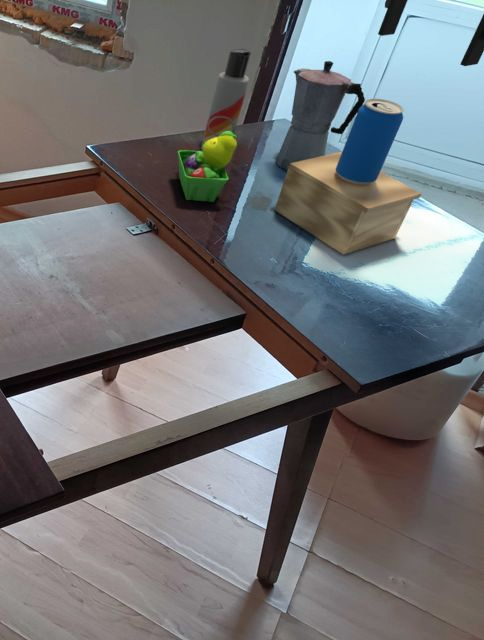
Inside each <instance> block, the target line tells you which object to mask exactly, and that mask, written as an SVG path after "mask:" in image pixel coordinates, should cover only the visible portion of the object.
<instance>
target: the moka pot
mask: <svg viewBox="0 0 484 640" xmlns="http://www.w3.org/2000/svg"><path fill="white" fill-rule="evenodd" d="M333 65H334V62H333V61H330V60H326V61H324V64H323V69H311V68H298V69H296V70H294V71H293V73H294V74H295V88H294V96H293V102H292V107H291V115H292V117H291V121H290V126H289V128H288V129H287V132H286V135H285V137H284V140H283V142H282V145H281V147H280V149H279V152H278V154H277V156H276V158H275V163H276V164H277V166H278V167H280V168H281V169H283V170H286V171H288V168H289V166H290V163H294V162H298V161H303V160H307V159H312V158H316V157H320V156H325V155H326V149H327V144H328V139H329V133H330V132H331V133H333V134H336V135H343V133H344V132H345V130H346V129H347V128H348V127H349V124H350V123H352V121H353V120H354V119H355V117H356V115H357V113H358V110H359V108H360V107H361V106H362V105H364V103H365V101H366V98H365V95H364V94H365V93H364V92H363V88H362V87H361V86H362V83H354V82H352V79H351V78H349V77H347V76H345V75H343V74H342V73H340V72H337V71H333V70H332V68H333ZM346 94H347V95H356V96H357V101H356V102H355V104H354V105H353V106H352V109H351V110H350V111H349V113H348V114H347V115H346V117H345V119H344V121H343V122H342V123H341V124H340V126H339V127H335V126H332V122H333V121H334V119H335V118H336V116H337V114H338V111H339V109H340V106H341V104H342V102H343V100H344V99H345V96H346ZM331 126H332V127H331ZM329 131H330V132H329Z"/></svg>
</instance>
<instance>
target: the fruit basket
mask: <svg viewBox="0 0 484 640" xmlns="http://www.w3.org/2000/svg"><path fill="white" fill-rule="evenodd" d="M236 138H237V135H236V134H235V133H234V134H233V133H232V132H231V131H225V132H223V133H221V134H220V135H219V137H215V138H212V139H210V140H208V141H206V142H205V143H204V145H203V147H202V146H201V147H202V148H203V151H202V150H191V149H189V150H188V149H180V150H178V151H177V158H178V178H179V181H180V185H181V188H182V191H183V194H184V198H185V200H186V201H195V202H211V203H214V202H215V200H216V199H217V197H218V196H219V194H220V192H221V191H222V190H223V189H222V188H223V187H224V185H225V184H227V182H228V180H229V176H228V174H227V170H226V169H225V167H226V166H227V165H228V164H229V163H230V161H232V158H233V155H234V152H235V150H236V148H237V145H238V144H237V143H238V142H237V140H236Z"/></svg>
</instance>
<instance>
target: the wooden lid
mask: <svg viewBox="0 0 484 640" xmlns="http://www.w3.org/2000/svg"><path fill="white" fill-rule="evenodd" d="M341 154H342V151H338V152H334V153H329V154H325V156H320V157H316V158H312V159H307V160H303V161H298V162H294V163H290V166H289V168H291V169H292V170H294V171H296V172H297V173H299V174H301V175H303V176H304V177H306V178H308V179H309V180H311V181H313V182H314V183H316V184H318V185H320V186H321V187H323V188H325V189H326V190H328V191H330V192H331V193H333V194H335V195H337V196H338V197H340V198H342V199H343V200H345V201H347V202H348V203H350V204H352V205H354V206H355V207H357V208H359V209H360V210H362V211H364V212H366V213H368V212H372V211H375V210H379V209H382V208H386V207H389V206H393V205H396V204H400V203H403V202H407V201H411V200H413V201H414V200H418V199H420V198H421V196H422V192H419V191H418V190H416V189H414V188H413V187H410V186H408V185H406V184H405V183H403V182H401V181H398V180H397V179H395V178H393V177H391V176H389V175H388V174H386V173H384V172H382V171H380V173H379V175H378V178H377V180H376V181H374V182H372V183H369V184H367V185H355V184H351V183H348V182H346V181H344V180H342V179H341V178H340V177H339V174H338V173H337V172H336V167H337V164H338V161H339V159H340V156H341Z"/></svg>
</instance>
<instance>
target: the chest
mask: <svg viewBox="0 0 484 640" xmlns="http://www.w3.org/2000/svg"><path fill="white" fill-rule="evenodd" d="M286 171H287V172H286V175H285V178H284V181H283V184H282V187H281V189H280V192H279V195H278V198H277V201H276V204H275V207H274V211H275V212H276V213H278V214H280V215H282V216H283V217H285V218H286V219H287V220H289V221H291V222H292V223H293V224H295V225H297V226H299V227H300V228H301V229H303V230H305V231H306V232H308V233H310V234H311V235H312V236H313V237H316V239H318V240H320V241H321V242H323V243H324V244H326V245H327V246H329V247H330V248H332V249H334V250H335V251H337V252H339V253H340V254H342V255H347V254H350V253H352V252H356V251H359V250H363V249H365V248H369V247H372V246H375V245H379V244H382V243H385V242H388V241H392V240H394V239H396V237H397V236H398V233H399V231H400V229H401V227H402V225H403V224H404V223H403V222H404V221H405V218H406V216H407V214H408V213H409V210H410V209H411V206H412V204H413V202H414V200H411V201H407V202H403V203H400V204H396V205H393V206H389V207H386V208H382V209H379V210H375V211H372V212H368V213H366V212H364V211H362V210H360V209H359V208H357V207H355V206H354V205H352V204H350V203H348V202H347V201H345V200H343V199H342V198H340V197H338V196H337V195H335V194H333V193H331V192H330V191H328V190H326V189H325V188H323V187H321V186H320V185H318V184H316V183H314V182H313V181H311V180H309V179H308V178H306V177H304V176H303V175H301V174H299V173H297V172H296V171H294V170H292V169H291V168H288V170H286Z"/></svg>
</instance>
